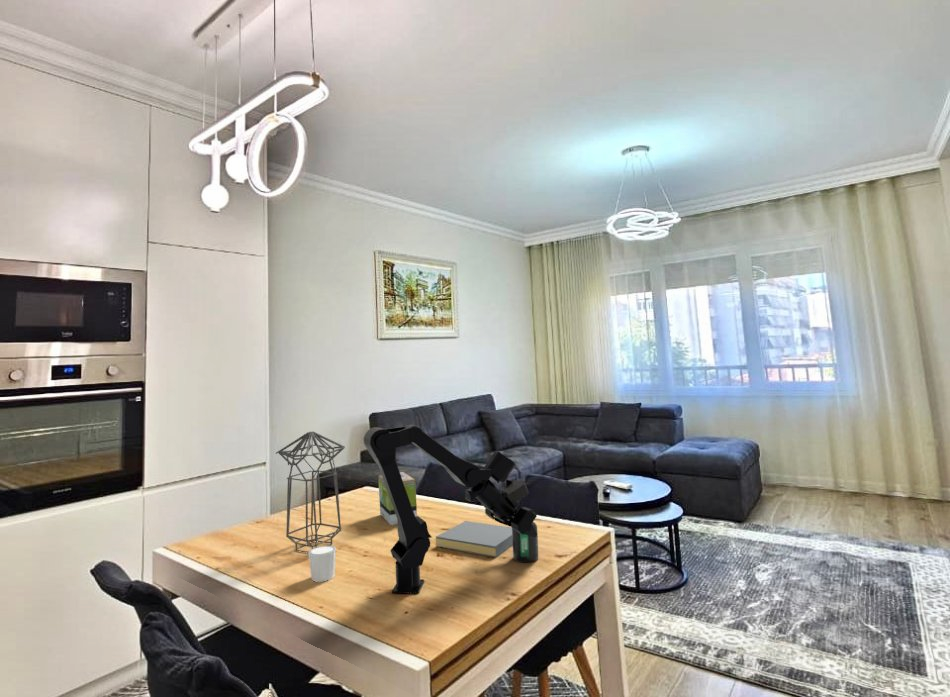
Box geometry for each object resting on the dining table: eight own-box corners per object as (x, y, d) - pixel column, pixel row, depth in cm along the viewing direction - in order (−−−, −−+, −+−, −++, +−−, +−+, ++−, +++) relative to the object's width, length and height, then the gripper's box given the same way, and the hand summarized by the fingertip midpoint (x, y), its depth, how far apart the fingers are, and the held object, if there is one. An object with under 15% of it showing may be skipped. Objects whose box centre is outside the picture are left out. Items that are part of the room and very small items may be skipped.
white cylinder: (327, 570, 130) (326, 543, 131) (342, 575, 126) (341, 548, 126) (303, 579, 125) (302, 551, 126) (319, 585, 121) (318, 556, 121)
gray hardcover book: (495, 557, 133) (494, 546, 133) (435, 547, 143) (435, 536, 144) (521, 538, 147) (521, 528, 147) (465, 530, 157) (465, 520, 157)
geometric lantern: (316, 536, 159) (313, 428, 160) (352, 543, 151) (348, 428, 152) (275, 553, 145) (271, 434, 147) (311, 561, 137) (307, 436, 139)
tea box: (379, 515, 179) (377, 474, 180) (405, 510, 184) (403, 470, 184) (390, 526, 166) (388, 482, 166) (418, 521, 170) (416, 478, 171)
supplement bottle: (529, 564, 127) (527, 518, 128) (508, 559, 131) (506, 514, 132) (543, 556, 132) (541, 511, 133) (522, 551, 137) (520, 507, 137)
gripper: (528, 478, 123) (566, 515, 127) (492, 467, 139) (527, 500, 144) (502, 515, 119) (542, 552, 123) (469, 499, 136) (505, 532, 140)
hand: (529, 532), depth 133 cm, fingers closed on supplement bottle, 7 cm apart
